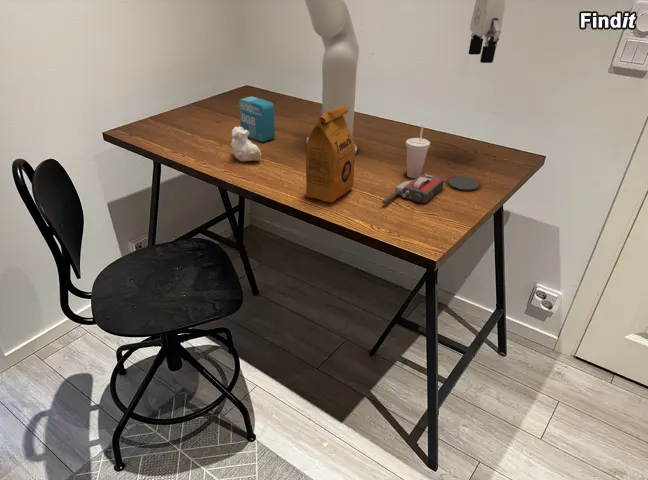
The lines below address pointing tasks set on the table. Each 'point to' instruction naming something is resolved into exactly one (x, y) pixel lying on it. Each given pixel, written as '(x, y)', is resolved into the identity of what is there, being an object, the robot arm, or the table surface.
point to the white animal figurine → (244, 146)
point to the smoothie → (416, 155)
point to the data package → (257, 118)
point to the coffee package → (330, 157)
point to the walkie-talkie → (418, 188)
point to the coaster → (463, 184)
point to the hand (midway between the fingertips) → (480, 58)
